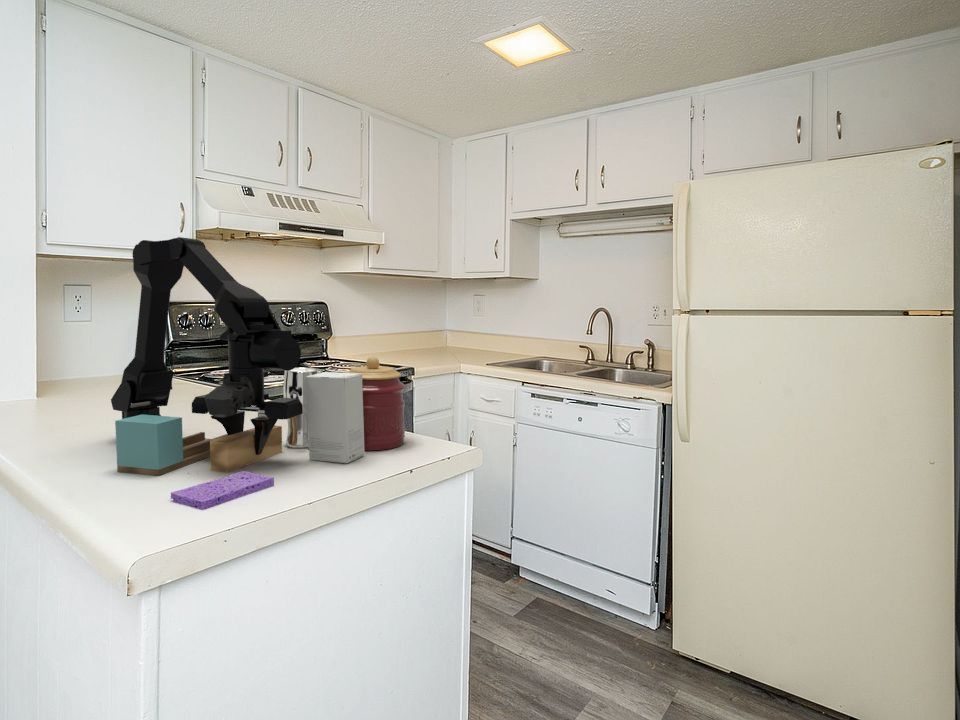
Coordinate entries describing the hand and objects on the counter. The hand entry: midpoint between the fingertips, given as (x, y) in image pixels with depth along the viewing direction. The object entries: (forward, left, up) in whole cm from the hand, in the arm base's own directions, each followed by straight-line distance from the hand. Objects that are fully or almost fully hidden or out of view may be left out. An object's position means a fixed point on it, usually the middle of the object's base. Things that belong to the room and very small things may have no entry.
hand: (248, 453), depth 103 cm
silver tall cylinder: (+3, +13, -1) cm, 13 cm away
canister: (+16, +18, -2) cm, 24 cm away
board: (-12, -2, -1) cm, 12 cm away
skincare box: (+14, +6, -2) cm, 15 cm away
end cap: (-12, -9, 0) cm, 15 cm away
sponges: (+7, -16, -2) cm, 18 cm away
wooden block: (0, 0, -1) cm, 1 cm away
